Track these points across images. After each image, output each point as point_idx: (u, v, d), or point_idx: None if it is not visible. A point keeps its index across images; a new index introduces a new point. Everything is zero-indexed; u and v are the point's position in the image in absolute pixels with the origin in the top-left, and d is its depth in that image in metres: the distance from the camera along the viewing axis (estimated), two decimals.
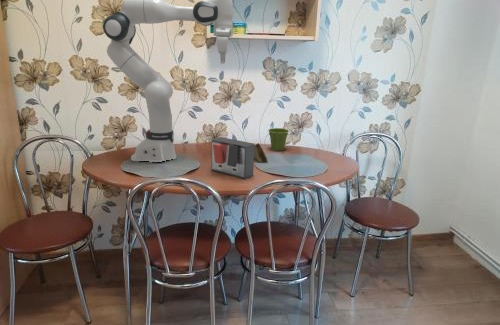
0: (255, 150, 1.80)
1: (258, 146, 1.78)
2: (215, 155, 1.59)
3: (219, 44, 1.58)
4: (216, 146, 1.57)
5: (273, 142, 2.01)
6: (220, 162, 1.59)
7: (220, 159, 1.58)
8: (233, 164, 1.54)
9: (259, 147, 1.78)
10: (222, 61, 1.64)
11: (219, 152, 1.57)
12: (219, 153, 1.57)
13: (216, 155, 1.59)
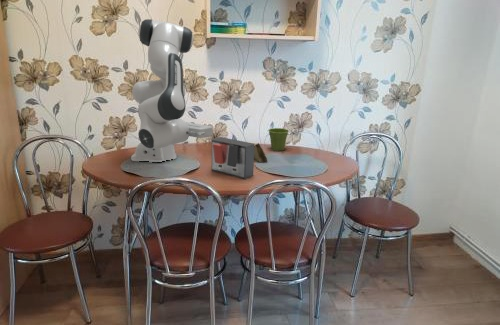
0: (255, 150, 1.80)
1: (258, 146, 1.78)
2: (215, 155, 1.59)
3: None
4: (216, 146, 1.57)
5: (273, 142, 2.01)
6: (220, 162, 1.59)
7: (220, 159, 1.58)
8: (233, 164, 1.54)
9: (259, 147, 1.78)
10: None
11: (219, 152, 1.57)
12: (219, 153, 1.57)
13: (216, 155, 1.59)
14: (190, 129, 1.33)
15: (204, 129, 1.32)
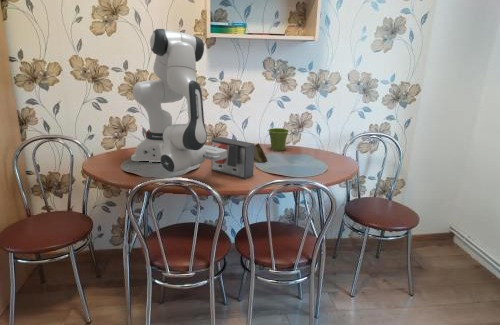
0: (255, 150, 1.80)
1: (258, 146, 1.78)
2: None
3: None
4: None
5: (273, 142, 2.01)
6: (220, 162, 1.59)
7: None
8: (233, 164, 1.54)
9: (259, 147, 1.78)
10: None
11: None
12: None
13: None
14: (206, 152, 1.44)
15: (219, 153, 1.44)
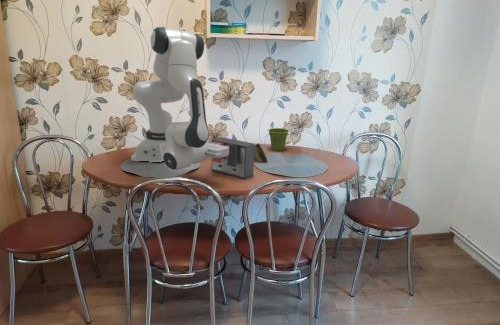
0: (255, 150, 1.80)
1: (258, 146, 1.78)
2: None
3: None
4: None
5: (273, 142, 2.01)
6: (218, 160, 1.57)
7: None
8: (233, 164, 1.54)
9: (259, 147, 1.78)
10: None
11: None
12: None
13: None
14: (209, 150, 1.45)
15: (221, 150, 1.44)
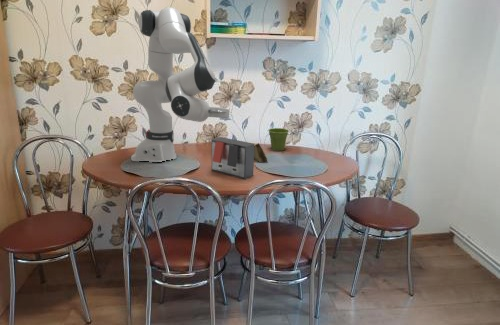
0: (255, 150, 1.80)
1: (258, 146, 1.78)
2: (215, 153, 1.59)
3: None
4: (218, 143, 1.58)
5: (273, 142, 2.01)
6: (218, 160, 1.58)
7: (219, 157, 1.57)
8: (233, 164, 1.54)
9: (259, 147, 1.78)
10: None
11: (220, 149, 1.57)
12: (220, 151, 1.57)
13: (216, 153, 1.58)
14: (211, 108, 1.39)
15: (224, 109, 1.40)
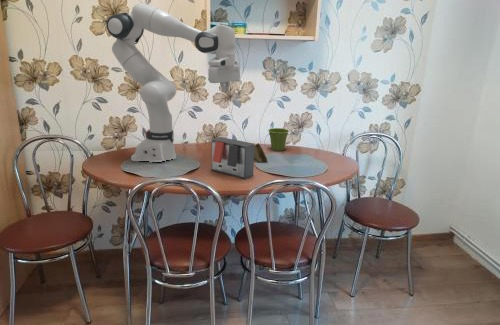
0: (255, 150, 1.80)
1: (258, 146, 1.78)
2: (215, 153, 1.59)
3: (209, 74, 1.58)
4: (218, 143, 1.58)
5: (273, 142, 2.01)
6: (218, 160, 1.58)
7: (219, 157, 1.57)
8: (233, 164, 1.54)
9: (259, 147, 1.78)
10: (223, 90, 1.67)
11: (220, 149, 1.57)
12: (220, 151, 1.57)
13: (216, 153, 1.58)
14: None
15: None
